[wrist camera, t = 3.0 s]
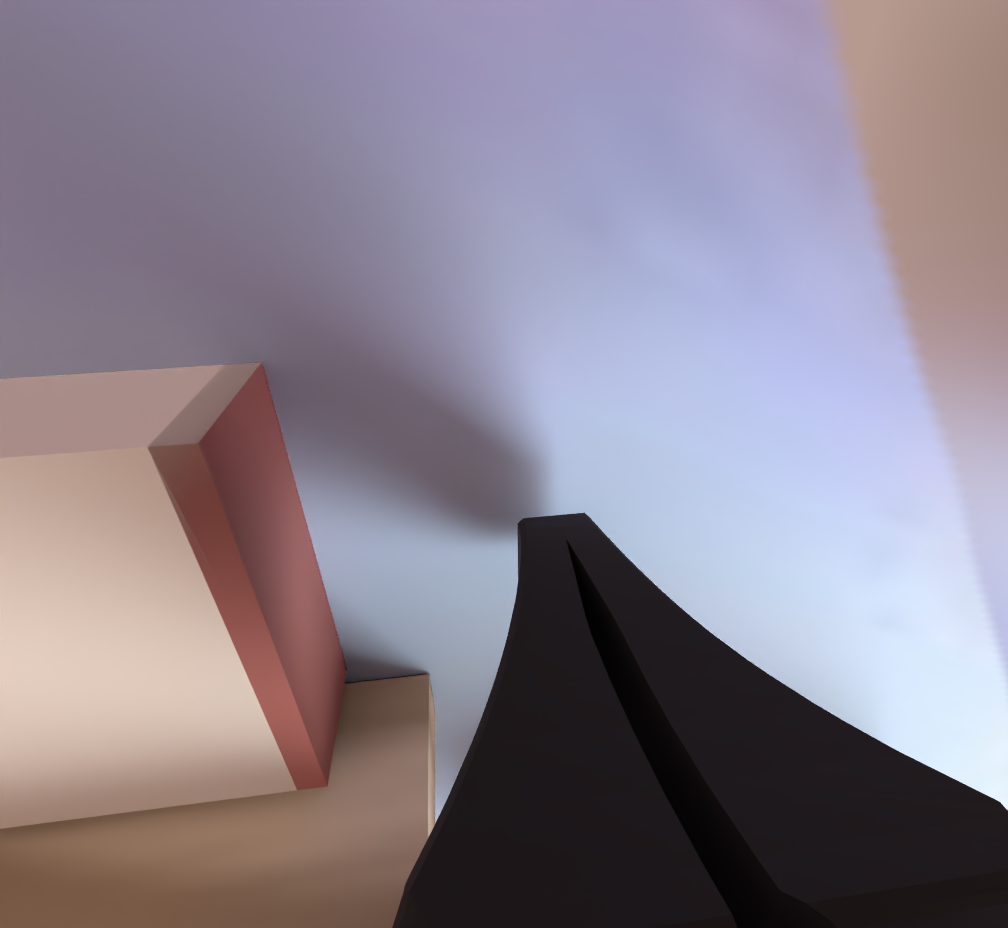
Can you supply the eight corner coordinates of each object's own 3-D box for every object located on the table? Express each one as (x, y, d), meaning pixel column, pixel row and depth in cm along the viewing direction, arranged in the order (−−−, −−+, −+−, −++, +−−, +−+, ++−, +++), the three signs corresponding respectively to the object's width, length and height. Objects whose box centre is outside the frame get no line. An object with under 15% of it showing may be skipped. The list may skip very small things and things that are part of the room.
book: (347, 663, 13) (327, 786, 11) (51, 695, 13) (-44, 834, 10) (264, 358, 9) (197, 443, 7) (-183, 387, 9) (-447, 491, 6)
